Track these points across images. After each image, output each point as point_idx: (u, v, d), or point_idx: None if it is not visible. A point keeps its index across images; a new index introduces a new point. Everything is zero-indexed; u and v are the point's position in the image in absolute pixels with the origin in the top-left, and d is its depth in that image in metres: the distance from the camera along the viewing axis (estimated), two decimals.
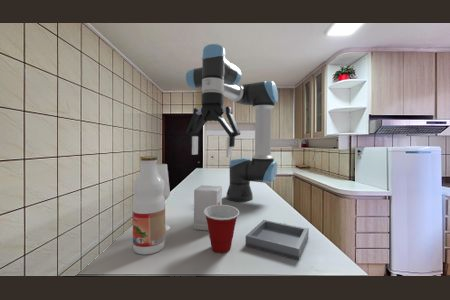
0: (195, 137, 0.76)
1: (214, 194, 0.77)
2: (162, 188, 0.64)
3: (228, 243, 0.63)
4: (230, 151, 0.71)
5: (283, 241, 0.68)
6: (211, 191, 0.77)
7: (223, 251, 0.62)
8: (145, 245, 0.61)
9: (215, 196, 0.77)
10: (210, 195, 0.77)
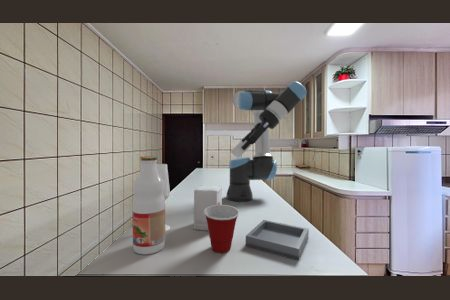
0: None
1: (214, 194, 0.77)
2: (162, 188, 0.64)
3: (228, 243, 0.63)
4: None
5: (283, 241, 0.68)
6: (211, 191, 0.77)
7: (223, 251, 0.62)
8: (145, 245, 0.61)
9: (215, 196, 0.77)
10: (210, 195, 0.77)
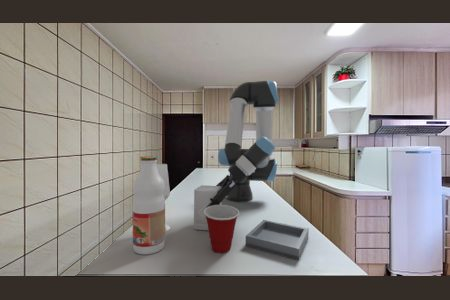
0: None
1: (214, 193, 0.77)
2: (162, 188, 0.64)
3: (228, 243, 0.63)
4: None
5: (283, 241, 0.68)
6: (211, 191, 0.77)
7: (223, 251, 0.62)
8: (145, 245, 0.61)
9: None
10: (210, 195, 0.77)
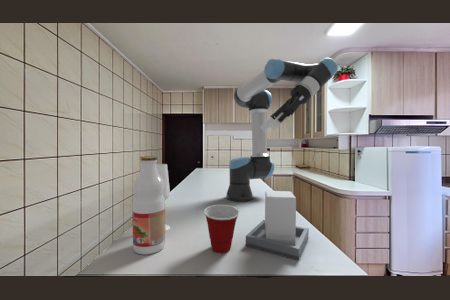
0: None
1: (293, 201, 0.64)
2: (162, 188, 0.64)
3: (228, 243, 0.63)
4: None
5: None
6: (289, 198, 0.64)
7: (223, 251, 0.62)
8: (145, 245, 0.61)
9: (294, 204, 0.64)
10: (288, 203, 0.64)
